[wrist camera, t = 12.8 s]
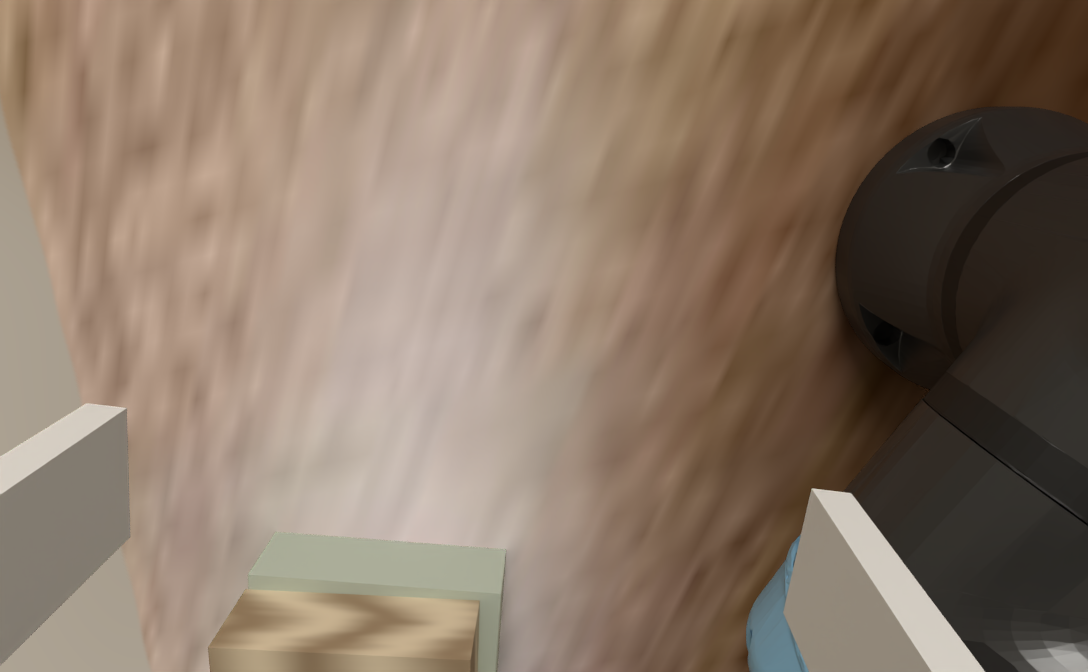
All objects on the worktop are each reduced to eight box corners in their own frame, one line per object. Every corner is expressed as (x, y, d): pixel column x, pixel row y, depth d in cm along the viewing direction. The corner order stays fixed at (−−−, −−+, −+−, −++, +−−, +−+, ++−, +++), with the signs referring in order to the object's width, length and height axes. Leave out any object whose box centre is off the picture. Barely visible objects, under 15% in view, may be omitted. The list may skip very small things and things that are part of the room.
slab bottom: (506, 546, 49) (501, 593, 44) (492, 733, 53) (486, 796, 48) (278, 528, 49) (247, 574, 44) (281, 717, 53) (253, 778, 48)
